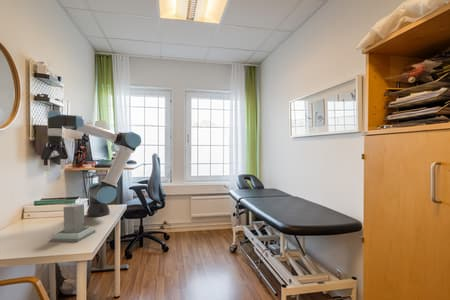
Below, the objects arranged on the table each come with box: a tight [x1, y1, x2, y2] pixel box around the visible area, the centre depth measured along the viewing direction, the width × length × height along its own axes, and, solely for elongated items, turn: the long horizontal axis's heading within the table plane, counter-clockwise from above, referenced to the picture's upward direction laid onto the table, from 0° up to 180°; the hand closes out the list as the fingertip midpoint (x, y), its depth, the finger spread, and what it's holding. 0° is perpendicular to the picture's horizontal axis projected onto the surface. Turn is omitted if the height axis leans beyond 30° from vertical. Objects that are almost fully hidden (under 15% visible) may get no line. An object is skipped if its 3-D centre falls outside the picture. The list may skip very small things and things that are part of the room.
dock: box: [49, 226, 96, 243], centre depth 140 cm, size 16×15×4 cm
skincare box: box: [63, 203, 86, 234], centre depth 140 cm, size 8×7×16 cm
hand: (55, 170), depth 159 cm, fingers open, 13 cm apart
